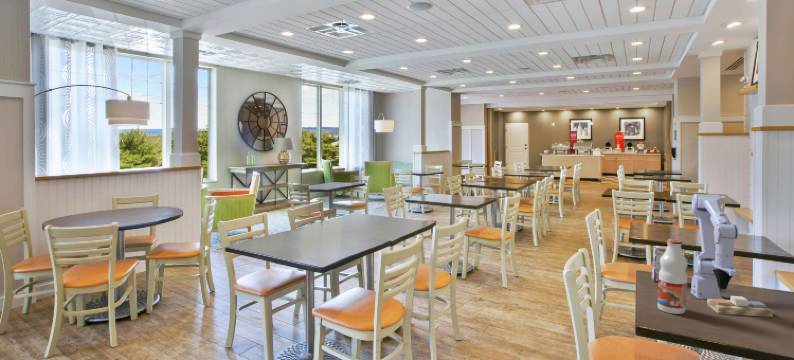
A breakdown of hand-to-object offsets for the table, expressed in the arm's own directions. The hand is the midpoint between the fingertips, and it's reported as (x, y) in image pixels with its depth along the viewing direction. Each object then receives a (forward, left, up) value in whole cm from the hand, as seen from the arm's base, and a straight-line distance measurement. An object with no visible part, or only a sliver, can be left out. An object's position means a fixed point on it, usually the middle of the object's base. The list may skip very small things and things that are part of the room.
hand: (722, 288), depth 170 cm
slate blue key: (+12, 0, -7) cm, 14 cm away
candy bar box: (-8, +33, -9) cm, 35 cm away
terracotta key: (0, 0, -7) cm, 7 cm away
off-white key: (+6, 0, -6) cm, 8 cm away
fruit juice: (-19, -4, -9) cm, 21 cm away
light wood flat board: (+6, 0, -8) cm, 10 cm away
